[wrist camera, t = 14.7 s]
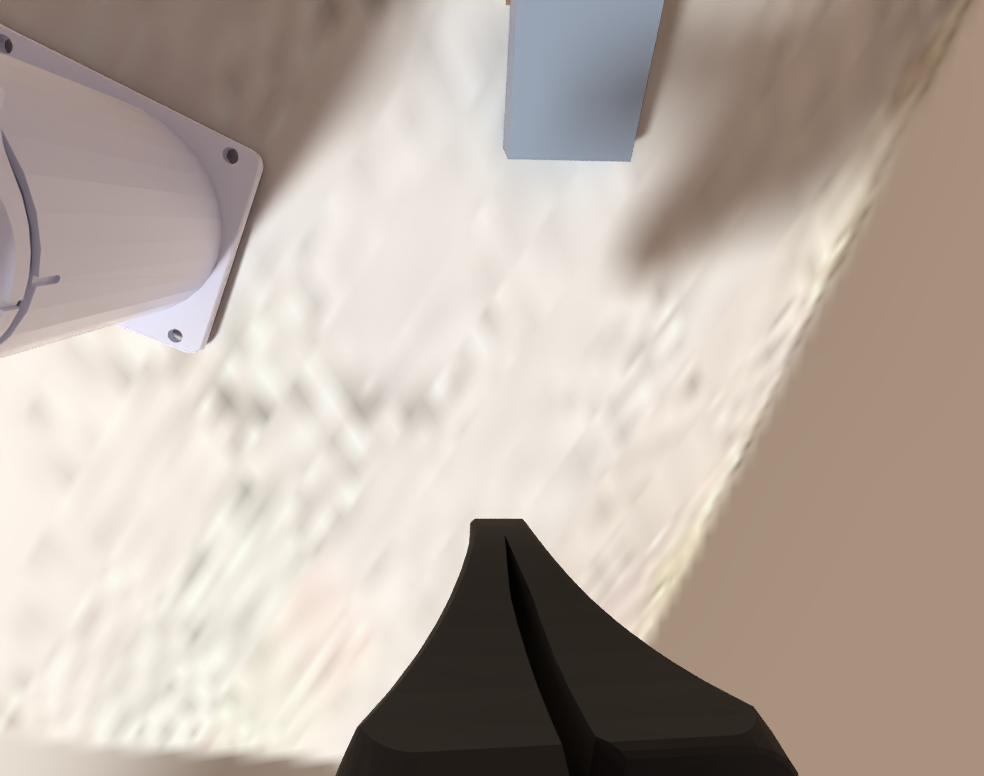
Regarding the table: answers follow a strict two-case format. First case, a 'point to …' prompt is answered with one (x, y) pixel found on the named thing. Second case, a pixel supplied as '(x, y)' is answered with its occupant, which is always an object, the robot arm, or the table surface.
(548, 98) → the domino
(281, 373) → the table surface
